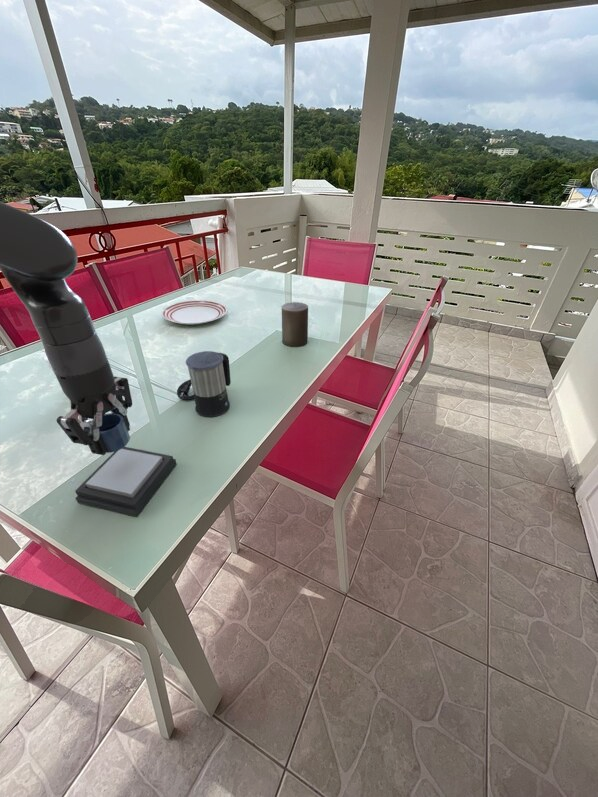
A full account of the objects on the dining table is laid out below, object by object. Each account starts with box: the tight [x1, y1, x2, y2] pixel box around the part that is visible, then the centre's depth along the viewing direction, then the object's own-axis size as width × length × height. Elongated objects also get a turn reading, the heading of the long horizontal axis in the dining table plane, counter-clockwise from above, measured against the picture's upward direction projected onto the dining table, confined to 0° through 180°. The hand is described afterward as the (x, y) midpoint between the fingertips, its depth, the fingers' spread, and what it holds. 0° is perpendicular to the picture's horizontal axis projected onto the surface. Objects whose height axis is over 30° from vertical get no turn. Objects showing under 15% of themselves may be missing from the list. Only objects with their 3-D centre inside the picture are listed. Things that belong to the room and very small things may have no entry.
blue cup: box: [90, 412, 131, 454], centre depth 60 cm, size 6×6×5 cm
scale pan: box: [86, 449, 163, 498], centre depth 66 cm, size 10×10×1 cm
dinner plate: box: [161, 299, 228, 326], centre depth 144 cm, size 27×27×3 cm
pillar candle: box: [280, 301, 309, 348], centre depth 121 cm, size 10×10×15 cm
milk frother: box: [176, 350, 232, 418], centre depth 88 cm, size 14×16×15 cm
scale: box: [74, 446, 178, 518], centre depth 67 cm, size 14×13×3 cm
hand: (113, 441), depth 62 cm, fingers closed on blue cup, 5 cm apart
